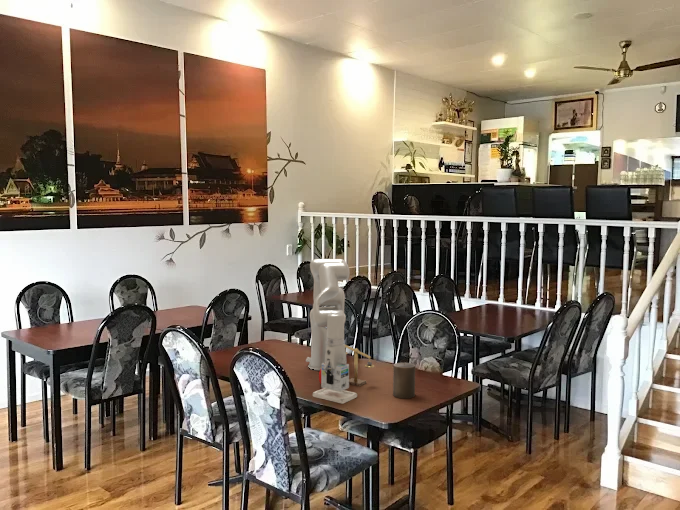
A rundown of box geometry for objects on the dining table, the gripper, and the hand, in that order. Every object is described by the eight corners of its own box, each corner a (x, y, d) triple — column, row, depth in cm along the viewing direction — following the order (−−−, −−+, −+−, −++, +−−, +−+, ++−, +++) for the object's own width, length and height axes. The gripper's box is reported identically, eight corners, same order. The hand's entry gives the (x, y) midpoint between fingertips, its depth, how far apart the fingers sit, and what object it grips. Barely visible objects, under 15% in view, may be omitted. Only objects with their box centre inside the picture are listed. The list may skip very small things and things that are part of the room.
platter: (312, 396, 260) (312, 392, 260) (327, 390, 269) (327, 386, 269) (342, 403, 251) (342, 399, 251) (357, 397, 260) (357, 393, 260)
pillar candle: (414, 399, 258) (415, 365, 257) (391, 397, 260) (392, 364, 259) (415, 392, 268) (416, 360, 267) (393, 391, 269) (394, 358, 268)
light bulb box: (349, 388, 260) (349, 363, 259) (341, 391, 254) (341, 367, 253) (329, 383, 266) (329, 360, 265) (320, 387, 260) (320, 363, 259)
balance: (334, 381, 284) (335, 344, 283) (342, 378, 289) (342, 342, 288) (370, 388, 273) (370, 350, 271) (376, 385, 278) (377, 347, 276)
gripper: (330, 346, 249) (330, 388, 251) (353, 339, 263) (353, 378, 265) (316, 343, 253) (316, 384, 255) (339, 337, 268) (339, 375, 269)
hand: (335, 381), depth 260 cm, fingers closed on light bulb box, 6 cm apart
